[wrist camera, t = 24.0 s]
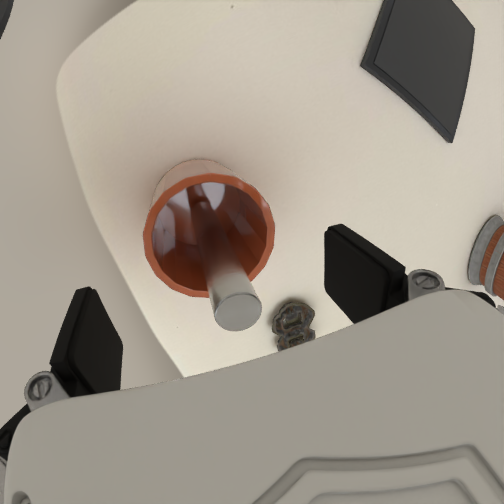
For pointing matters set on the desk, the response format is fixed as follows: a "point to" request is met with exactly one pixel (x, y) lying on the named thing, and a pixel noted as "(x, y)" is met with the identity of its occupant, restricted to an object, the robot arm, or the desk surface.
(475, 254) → the mug
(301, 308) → the corroded twin loop
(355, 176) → the desk surface
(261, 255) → the holder
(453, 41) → the tablet
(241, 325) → the stylus
